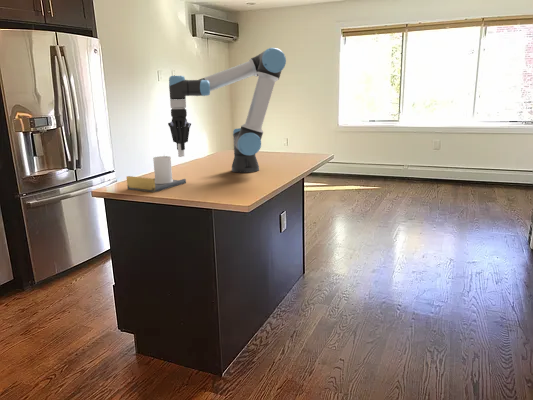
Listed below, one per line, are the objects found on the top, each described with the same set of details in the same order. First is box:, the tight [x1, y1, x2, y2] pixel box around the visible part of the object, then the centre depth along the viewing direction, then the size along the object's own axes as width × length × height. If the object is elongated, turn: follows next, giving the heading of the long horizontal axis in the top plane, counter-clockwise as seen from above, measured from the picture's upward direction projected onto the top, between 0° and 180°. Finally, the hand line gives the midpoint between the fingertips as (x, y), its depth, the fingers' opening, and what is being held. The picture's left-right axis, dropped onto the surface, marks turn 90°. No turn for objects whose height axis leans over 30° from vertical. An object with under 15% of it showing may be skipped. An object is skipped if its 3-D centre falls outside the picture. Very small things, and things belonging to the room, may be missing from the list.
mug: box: [152, 155, 174, 184], centre depth 207 cm, size 12×8×12 cm
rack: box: [126, 175, 187, 193], centre depth 203 cm, size 16×22×6 cm
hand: (181, 156), depth 217 cm, fingers closed
